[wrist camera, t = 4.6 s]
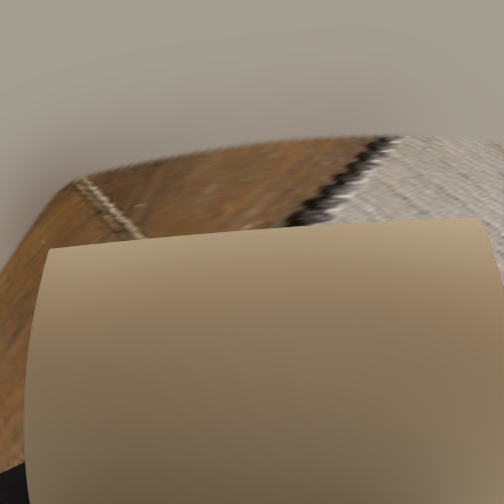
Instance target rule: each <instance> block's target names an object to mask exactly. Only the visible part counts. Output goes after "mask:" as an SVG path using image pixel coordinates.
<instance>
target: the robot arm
mask: <svg viewBox="0 0 504 504" xmlns="http://www.w3.org/2000/svg"><path fill="white" fill-rule="evenodd" d="M0 504H30V501H29V494H28V487H27V478H26V467H25V462H24V463H22V464H20V465H18V466H15V467H13V468H11V469H9V470H7V471H4V472H2V473H0Z"/></svg>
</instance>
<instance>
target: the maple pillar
mask: <svg viewBox="0 0 504 504" xmlns="http://www.w3.org/2000/svg"><path fill="white" fill-rule="evenodd" d="M24 452H25V467H26V478H27V487H28V494H29V501H30V504H504V287H503V284H502V280H501V277H500V273H499V270H498V267H497V263H496V260H495V257H494V254H493V251H492V248H491V245H490V243H489V240H488V237H487V234H486V232H485V229H484V227H483V224H482V221H481V219H480V218H451V219H427V220H405V221H385V222H366V223H349V224H332V225H317V226H301V227H287V228H273V229H259V230H246V231H233V232H221V233H209V234H197V235H185V236H174V237H163V238H152V239H142V240H131V241H121V242H111V243H101V244H92V245H82V246H73V247H64V248H55V249H49V252H48V256H47V260H46V263H45V267H44V271H43V275H42V279H41V283H40V288H39V292H38V297H37V302H36V307H35V312H34V317H33V323H32V329H31V335H30V342H29V350H28V358H27V368H26V379H25V395H24Z"/></svg>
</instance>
